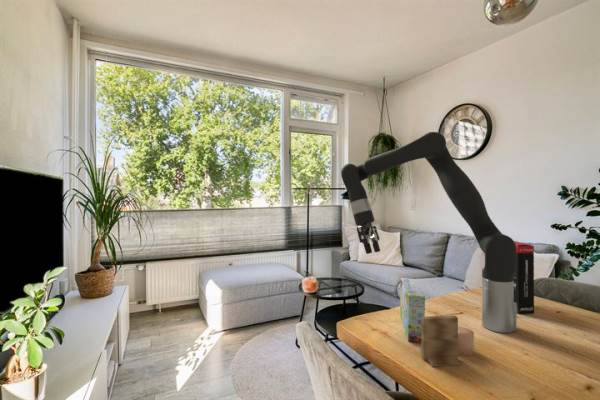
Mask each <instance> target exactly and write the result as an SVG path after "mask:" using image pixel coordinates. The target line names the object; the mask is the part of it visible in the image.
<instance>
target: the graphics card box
mask: <svg viewBox="0 0 600 400" xmlns="http://www.w3.org/2000/svg"><path fill="white" fill-rule="evenodd" d="M513 241H514V242H515V244H516V250H517V258H516V272H515V275H514V302H516V304H517V315H518V314H520V315H521V314H523V315H524V314H525V315H526V314H528V315H529V314H535V247H534V245H532V244H527V243H524V242H519V241H515V240H513Z"/></svg>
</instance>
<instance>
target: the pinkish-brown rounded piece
mask: <svg viewBox="0 0 600 400" xmlns="http://www.w3.org/2000/svg"><path fill="white" fill-rule="evenodd" d="M474 353H475V333H474V331H473V330H472V329H470V328H468V327H464V326H458V356H459V355H460V356H463V357H470V356H471V357H472V356H473V355H474Z"/></svg>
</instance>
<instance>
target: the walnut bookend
mask: <svg viewBox="0 0 600 400" xmlns="http://www.w3.org/2000/svg"><path fill="white" fill-rule="evenodd" d="M458 327H459V317H457V316H456V315H433V316H425V317H421V342H420V345H421V346H420V347H421V349H420V350H421V352H420V353H421V359H422V360H423V362H424V361H427V362H428V364H430V366H431V367H455V366H461V365H462V363H461V361H460V360H459V354H458Z"/></svg>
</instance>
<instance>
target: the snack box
mask: <svg viewBox="0 0 600 400" xmlns="http://www.w3.org/2000/svg"><path fill="white" fill-rule="evenodd" d="M399 280H400V282H399V283H400V291H399V292H400V293H399V294H400V295H399V297H400V301H399V302H400V305H399V308H400V309H399V313H400V314H399V316H400V320H401V323H402V325H403V329H404V332H405V335H406V338H407V341H408V342H415V343H421V317H426V316H425V311H426V310H425V308H426V307H425V305H426V301H425V300H426V296H425V295H424V293H423V292H422V290H421V287H419V285H418V283H417V282H416V280H415V278H410V277H409V278H408V277H407V278H405V277H400V278H399Z"/></svg>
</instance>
